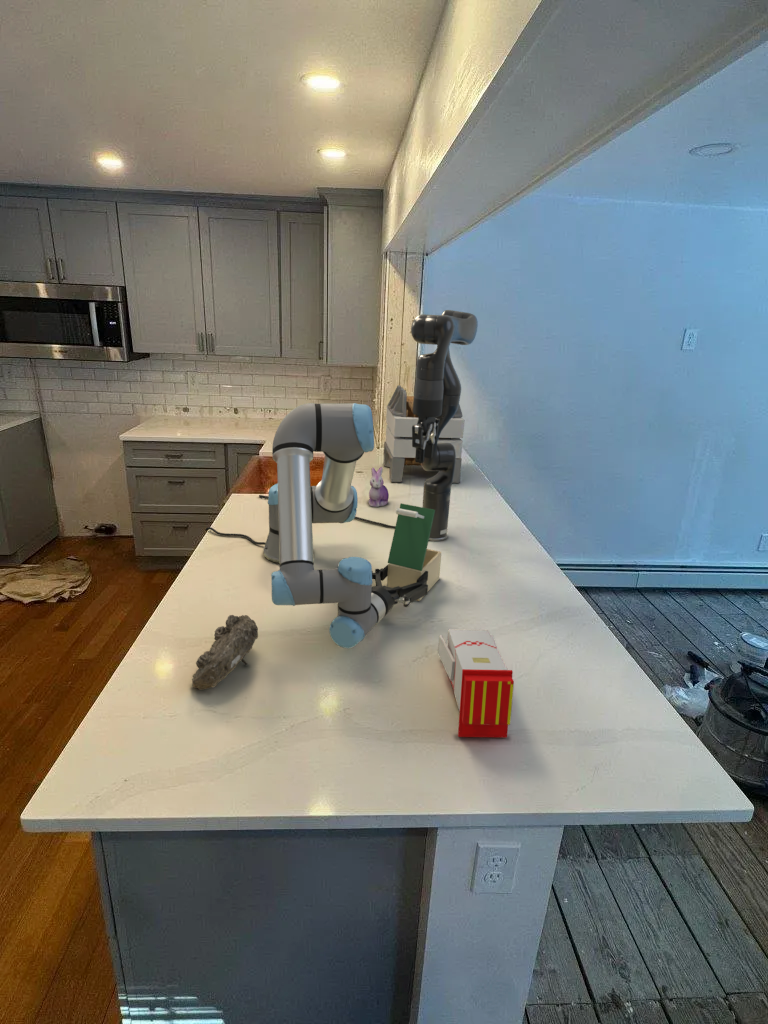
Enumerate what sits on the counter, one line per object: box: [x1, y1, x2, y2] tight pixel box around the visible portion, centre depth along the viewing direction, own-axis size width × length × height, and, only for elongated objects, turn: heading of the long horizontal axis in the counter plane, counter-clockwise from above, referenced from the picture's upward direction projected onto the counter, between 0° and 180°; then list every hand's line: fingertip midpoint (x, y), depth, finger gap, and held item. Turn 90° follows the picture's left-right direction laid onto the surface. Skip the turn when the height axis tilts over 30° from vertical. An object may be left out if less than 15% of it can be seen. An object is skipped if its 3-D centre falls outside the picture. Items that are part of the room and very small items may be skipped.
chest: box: [386, 548, 442, 602], centre depth 162 cm, size 16×10×9 cm, turn 155°
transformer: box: [383, 384, 465, 484], centre depth 268 cm, size 34×33×41 cm
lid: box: [387, 503, 435, 571], centre depth 150 cm, size 17×10×8 cm
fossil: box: [191, 614, 259, 691], centre depth 123 cm, size 22×10×15 cm
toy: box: [437, 628, 515, 738], centre depth 117 cm, size 12×13×30 cm
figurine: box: [367, 466, 390, 507], centre depth 227 cm, size 9×10×15 cm
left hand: (408, 571), depth 157 cm, fingers closed on chest, 10 cm apart
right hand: (423, 459), depth 152 cm, fingers open, 5 cm apart
